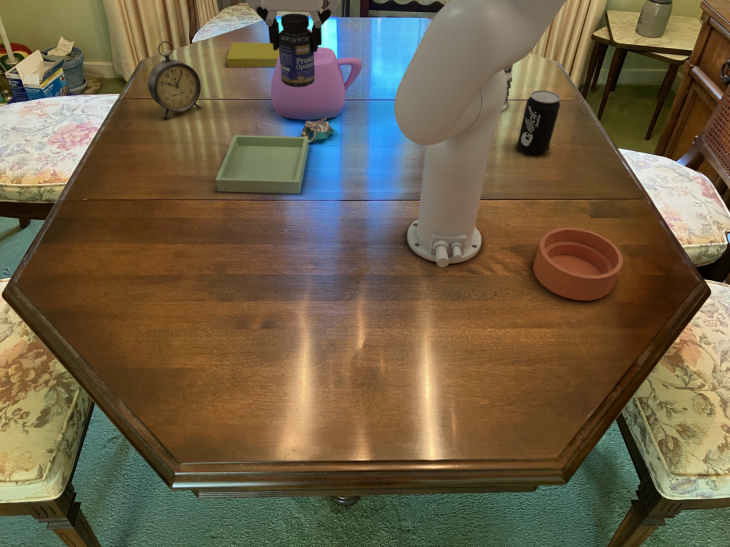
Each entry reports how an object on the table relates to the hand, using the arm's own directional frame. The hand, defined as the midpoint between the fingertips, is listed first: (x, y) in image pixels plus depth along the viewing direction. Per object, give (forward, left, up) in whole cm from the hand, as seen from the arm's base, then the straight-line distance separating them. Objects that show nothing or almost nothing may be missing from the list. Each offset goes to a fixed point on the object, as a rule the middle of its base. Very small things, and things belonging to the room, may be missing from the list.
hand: (296, 47), depth 96 cm
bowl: (-31, -47, -24) cm, 61 cm away
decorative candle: (+32, -43, -24) cm, 58 cm away
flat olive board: (+58, +14, -24) cm, 64 cm away
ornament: (+13, -2, -24) cm, 27 cm away
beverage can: (+10, -49, -24) cm, 55 cm away
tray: (-1, +7, -24) cm, 25 cm away
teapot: (+27, +1, -24) cm, 36 cm away
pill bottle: (0, 0, -6) cm, 6 cm away
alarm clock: (+23, +31, -24) cm, 46 cm away
